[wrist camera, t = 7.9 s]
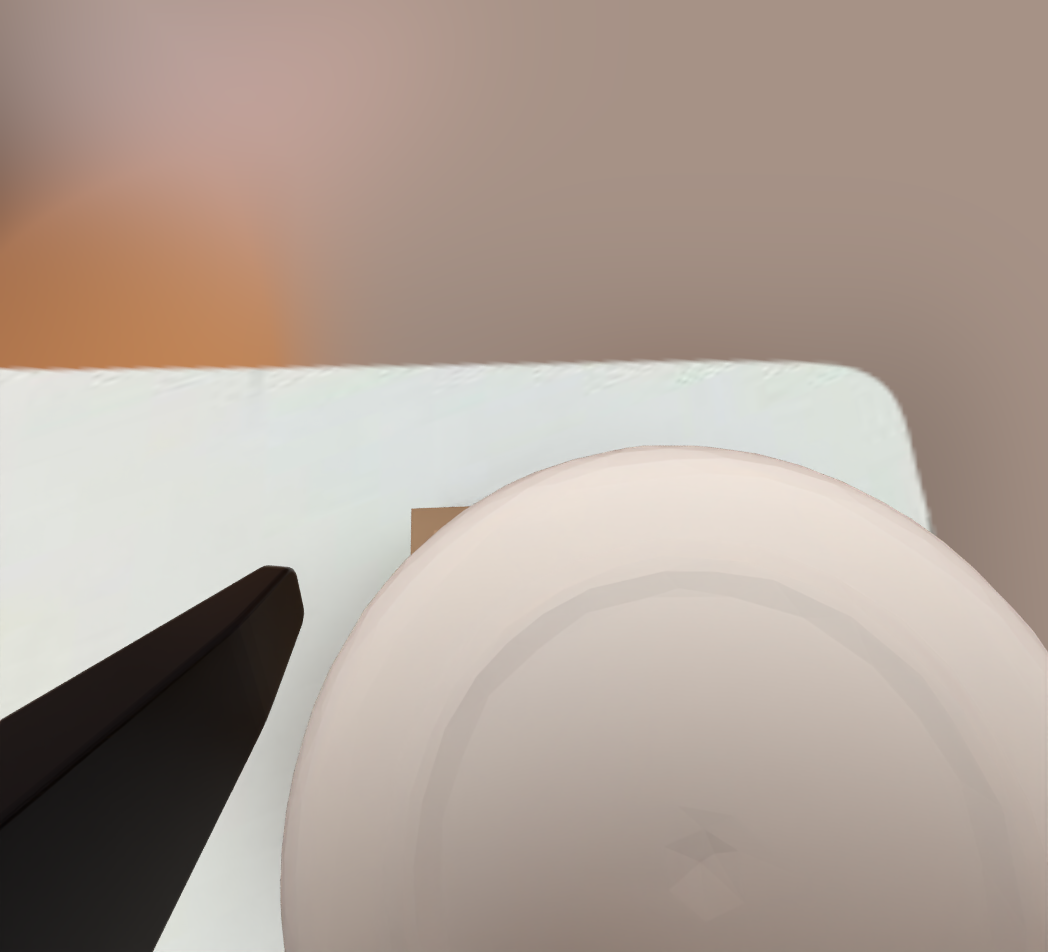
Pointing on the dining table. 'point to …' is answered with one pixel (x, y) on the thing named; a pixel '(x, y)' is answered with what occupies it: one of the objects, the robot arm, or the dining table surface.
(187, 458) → the dining table surface
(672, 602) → the sprinkles bottle
